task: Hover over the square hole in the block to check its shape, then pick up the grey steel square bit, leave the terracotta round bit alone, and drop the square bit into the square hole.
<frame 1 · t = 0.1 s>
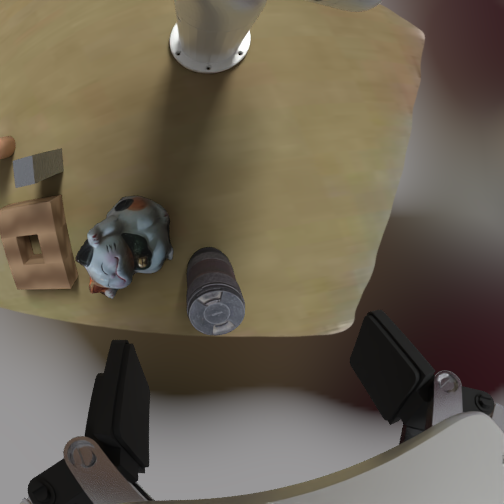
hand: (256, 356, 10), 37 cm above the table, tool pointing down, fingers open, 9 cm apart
camera lens: (208, 263, 49), on the table
round bit: (8, 146, 30), on the table
bore block: (40, 240, 39), on the table
square bit: (53, 161, 35), on the table
lucky cat figurine: (134, 237, 44), on the table
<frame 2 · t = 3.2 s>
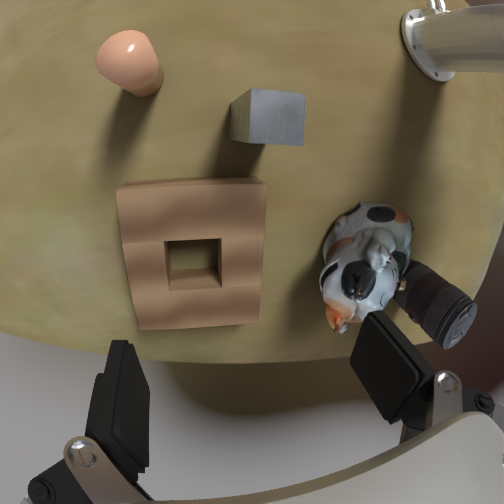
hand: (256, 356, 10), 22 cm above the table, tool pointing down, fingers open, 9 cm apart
camera lens: (401, 275, 41), on the table
round bit: (144, 79, 22), on the table
bore block: (193, 247, 31), on the table
square bit: (249, 121, 26), on the table
lucky cat figurine: (349, 252, 36), on the table
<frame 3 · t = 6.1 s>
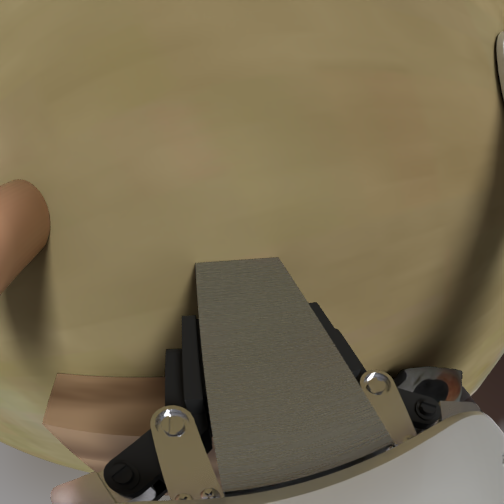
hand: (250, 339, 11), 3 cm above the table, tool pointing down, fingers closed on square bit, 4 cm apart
round bit: (20, 219, 9), on the table
bore block: (170, 431, 19), on the table
square bit: (237, 295, 14), on the table, touching gripper
lucky cat figurine: (380, 399, 24), on the table
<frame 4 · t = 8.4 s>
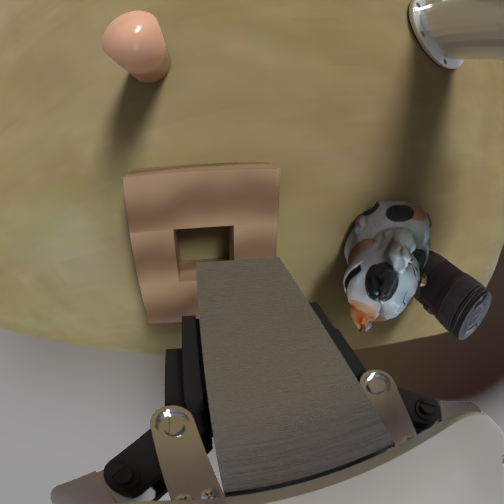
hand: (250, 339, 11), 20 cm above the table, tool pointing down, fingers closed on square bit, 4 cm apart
camera lens: (414, 265, 39), on the table
round bit: (151, 65, 21), on the table
bore block: (203, 236, 30), on the table
square bit: (238, 295, 14), point 17 cm above the table, touching gripper
lucky cat figurine: (370, 249, 36), on the table
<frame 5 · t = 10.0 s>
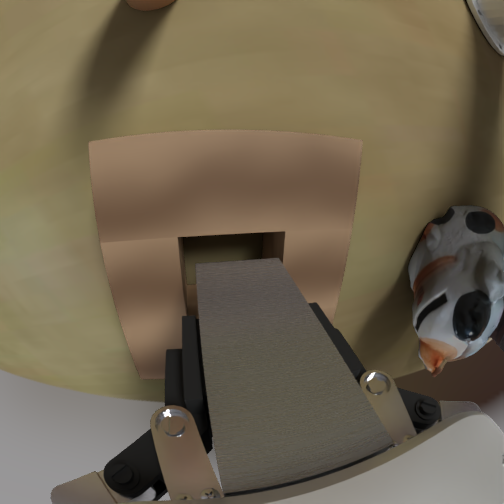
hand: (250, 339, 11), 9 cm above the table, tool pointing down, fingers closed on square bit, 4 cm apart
camera lens: (467, 279, 29), on the table
bore block: (223, 247, 19), on the table
square bit: (237, 295, 14), point 6 cm above the table, touching gripper
lucky cat figurine: (432, 266, 25), on the table
when the fingers open (6 cm above the table, at t = 11.0 s): square bit drops 2 cm, resting in bore block.
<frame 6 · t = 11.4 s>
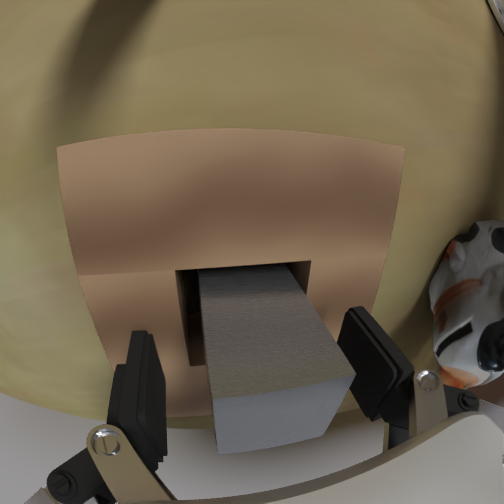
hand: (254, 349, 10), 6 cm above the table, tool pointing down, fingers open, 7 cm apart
bore block: (230, 271, 16), on the table
square bit: (231, 270, 16), resting in bore block
lucky cat figurine: (451, 282, 22), on the table
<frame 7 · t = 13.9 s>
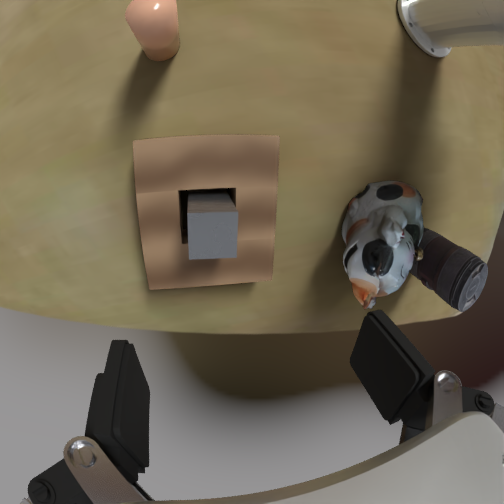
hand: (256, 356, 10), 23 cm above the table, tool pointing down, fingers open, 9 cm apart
camera lens: (411, 244, 40), on the table
round bit: (161, 45, 22), on the table
bore block: (205, 204, 31), on the table
square bit: (206, 204, 31), resting in bore block
lucky cat figurine: (367, 230, 37), on the table
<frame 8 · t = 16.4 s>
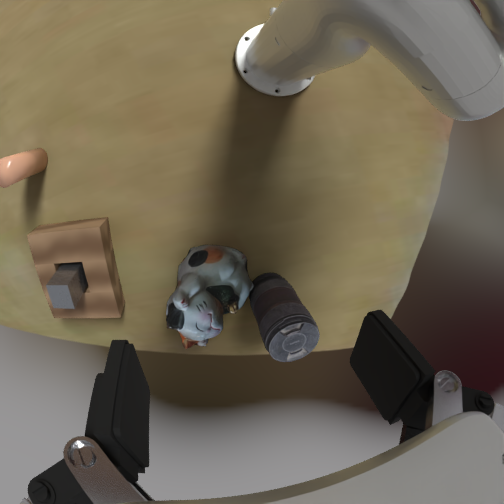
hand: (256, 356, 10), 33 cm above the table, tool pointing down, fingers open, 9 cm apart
camera lens: (267, 287, 50), on the table
round bit: (38, 160, 31), on the table
bore block: (80, 265, 40), on the table
square bit: (80, 264, 40), resting in bore block
lucky cat figurine: (209, 280, 47), on the table
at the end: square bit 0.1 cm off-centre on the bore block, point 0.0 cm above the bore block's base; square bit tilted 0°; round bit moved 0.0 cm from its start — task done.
